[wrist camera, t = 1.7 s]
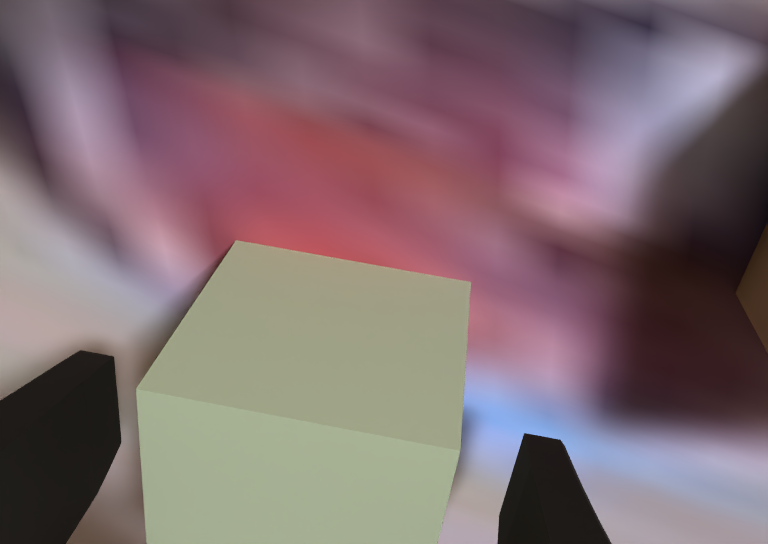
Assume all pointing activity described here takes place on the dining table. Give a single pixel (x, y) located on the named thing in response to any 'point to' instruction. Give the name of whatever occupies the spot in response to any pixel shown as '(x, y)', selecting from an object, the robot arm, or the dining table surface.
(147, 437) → the green cube
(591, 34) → the dining table surface
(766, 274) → the base slab
